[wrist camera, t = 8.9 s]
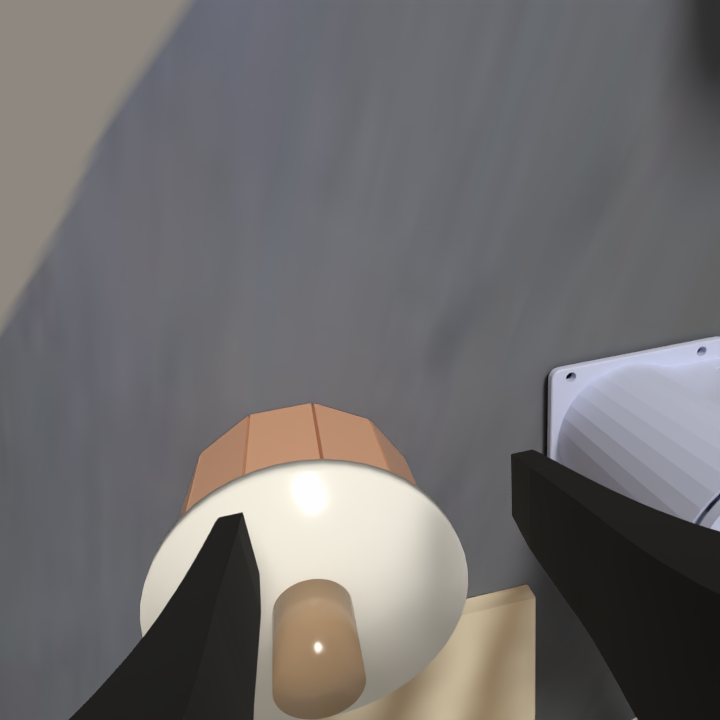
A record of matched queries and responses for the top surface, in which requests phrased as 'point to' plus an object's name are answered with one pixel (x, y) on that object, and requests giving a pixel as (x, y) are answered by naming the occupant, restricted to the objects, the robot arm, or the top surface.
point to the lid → (330, 581)
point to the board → (472, 668)
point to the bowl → (292, 446)
